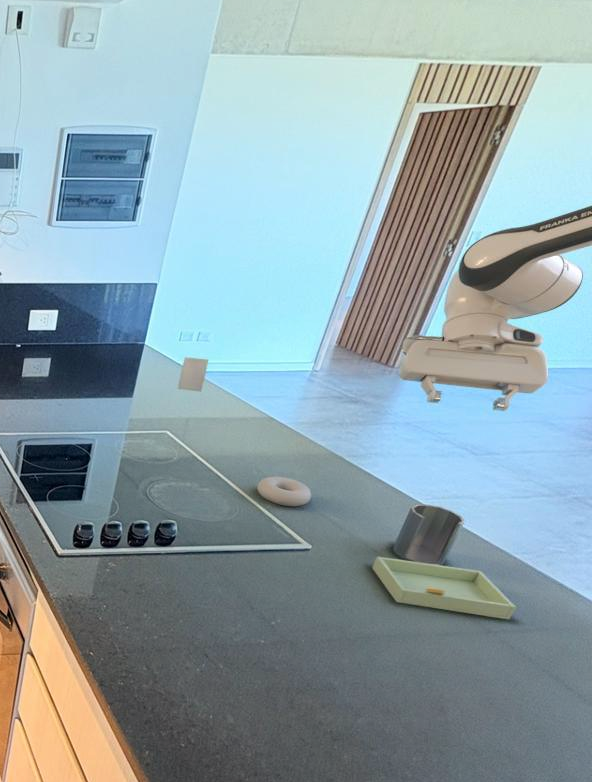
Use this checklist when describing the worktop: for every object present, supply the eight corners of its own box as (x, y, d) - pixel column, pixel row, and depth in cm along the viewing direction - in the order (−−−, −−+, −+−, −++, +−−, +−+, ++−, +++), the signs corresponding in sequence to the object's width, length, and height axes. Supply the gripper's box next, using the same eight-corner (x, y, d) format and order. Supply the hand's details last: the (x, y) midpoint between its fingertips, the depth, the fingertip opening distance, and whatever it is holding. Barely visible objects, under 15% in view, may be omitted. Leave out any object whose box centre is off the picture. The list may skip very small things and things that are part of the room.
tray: (474, 582, 107) (480, 570, 105) (509, 619, 98) (516, 607, 97) (371, 567, 111) (377, 556, 109) (396, 602, 102) (402, 589, 101)
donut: (315, 499, 134) (266, 482, 140) (320, 485, 132) (270, 469, 139) (298, 514, 128) (247, 496, 135) (303, 500, 126) (252, 482, 133)
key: (424, 588, 100) (424, 591, 100) (443, 590, 98) (442, 593, 98) (431, 591, 103) (431, 594, 103) (449, 593, 102) (448, 596, 101)
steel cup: (389, 541, 118) (407, 501, 114) (436, 551, 115) (456, 509, 111) (397, 560, 113) (417, 518, 108) (447, 571, 110) (469, 528, 106)
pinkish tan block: (201, 391, 198) (208, 361, 193) (178, 388, 200) (184, 358, 196) (200, 388, 201) (208, 358, 196) (178, 385, 203) (184, 356, 199)
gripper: (410, 325, 117) (403, 389, 113) (555, 336, 108) (552, 405, 105) (396, 343, 122) (389, 404, 119) (533, 355, 114) (529, 421, 110)
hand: (466, 405), depth 112 cm, fingers open, 8 cm apart
